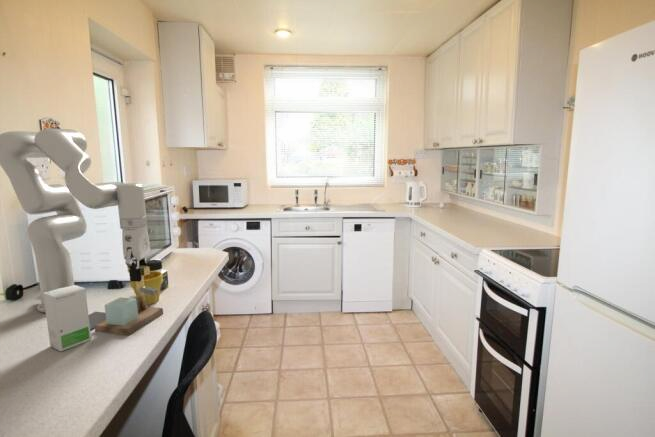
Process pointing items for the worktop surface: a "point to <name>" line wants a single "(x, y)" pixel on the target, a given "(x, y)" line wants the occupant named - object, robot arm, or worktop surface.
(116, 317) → the mint green cube
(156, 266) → the medicine bottle
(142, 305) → the t key
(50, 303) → the skincare box
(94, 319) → the mat
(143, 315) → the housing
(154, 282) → the plant pot
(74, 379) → the worktop surface
